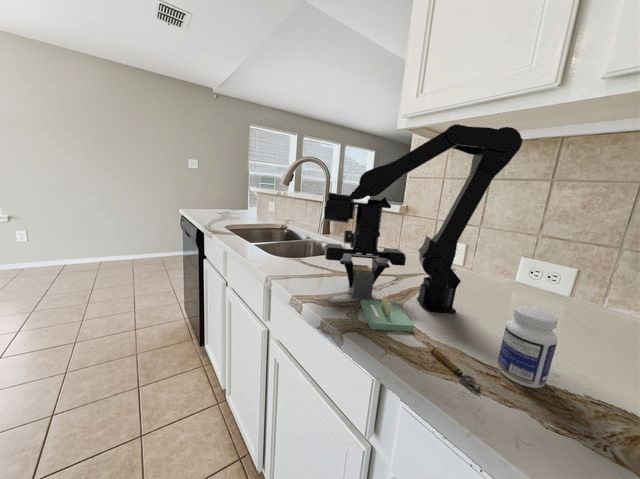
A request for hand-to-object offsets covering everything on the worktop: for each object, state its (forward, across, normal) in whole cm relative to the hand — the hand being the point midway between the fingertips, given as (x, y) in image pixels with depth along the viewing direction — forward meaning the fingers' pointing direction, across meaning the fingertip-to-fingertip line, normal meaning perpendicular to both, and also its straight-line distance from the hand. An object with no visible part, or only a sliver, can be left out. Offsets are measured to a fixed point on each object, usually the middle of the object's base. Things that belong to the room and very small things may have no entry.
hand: (359, 287), depth 63 cm
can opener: (+2, -9, +27) cm, 29 cm away
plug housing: (+1, 0, 0) cm, 1 cm away
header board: (+1, -3, +12) cm, 12 cm away
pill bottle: (+1, -19, +27) cm, 33 cm away
